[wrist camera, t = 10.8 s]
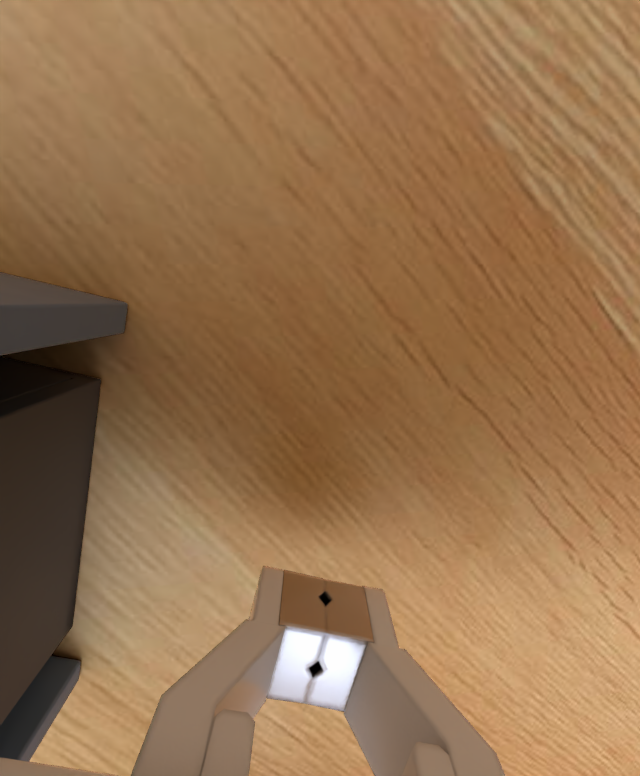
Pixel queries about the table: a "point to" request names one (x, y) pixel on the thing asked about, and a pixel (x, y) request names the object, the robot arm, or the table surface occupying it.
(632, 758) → the table surface
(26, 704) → the cubby shelf
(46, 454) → the basket
